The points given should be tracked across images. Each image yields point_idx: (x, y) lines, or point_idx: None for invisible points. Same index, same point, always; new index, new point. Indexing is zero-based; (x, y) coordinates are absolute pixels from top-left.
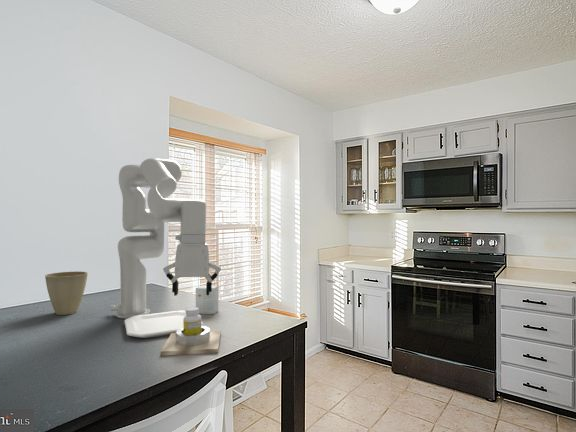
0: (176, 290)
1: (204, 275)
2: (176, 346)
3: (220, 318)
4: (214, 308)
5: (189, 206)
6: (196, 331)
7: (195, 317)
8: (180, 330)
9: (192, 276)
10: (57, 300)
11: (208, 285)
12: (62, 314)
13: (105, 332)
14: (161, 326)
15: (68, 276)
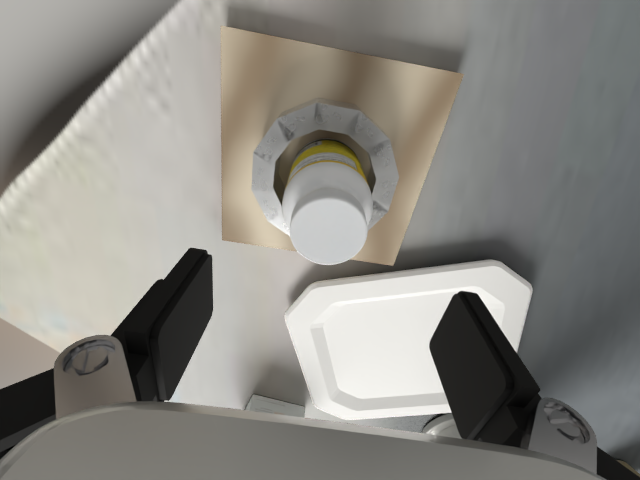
0: (474, 320)
1: (93, 416)
2: (393, 118)
3: (234, 361)
4: (249, 410)
5: None
6: (310, 150)
7: (312, 179)
8: (376, 202)
9: (335, 426)
10: None
11: (147, 306)
12: (617, 460)
13: (564, 340)
14: (413, 331)
15: None
